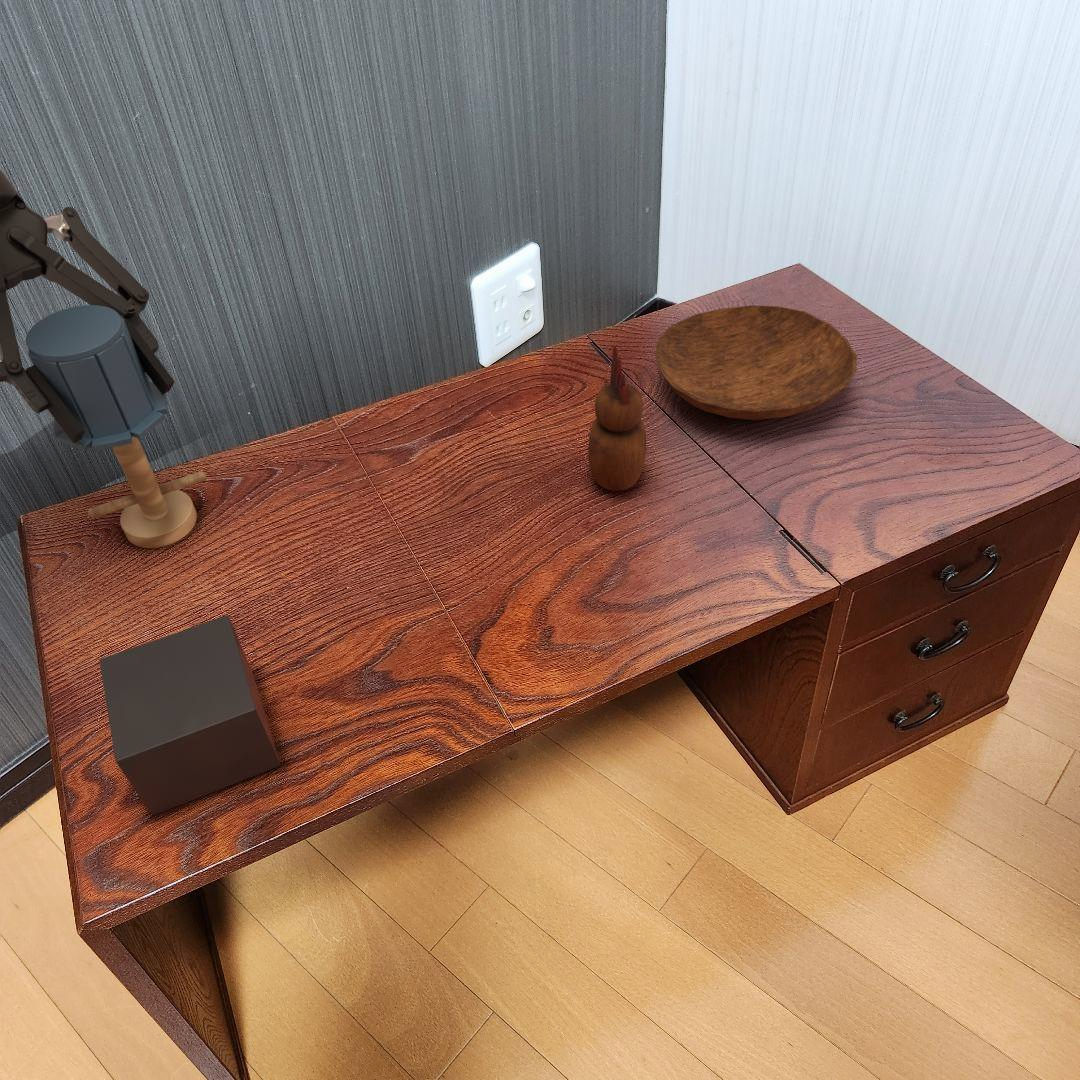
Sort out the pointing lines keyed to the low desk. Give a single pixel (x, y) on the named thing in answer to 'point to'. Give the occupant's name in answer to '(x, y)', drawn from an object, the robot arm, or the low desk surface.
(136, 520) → the hat stand
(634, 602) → the low desk surface
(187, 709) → the riser
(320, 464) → the low desk surface
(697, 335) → the bowl
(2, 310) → the robot arm
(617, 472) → the wooden figurine
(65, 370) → the hat
